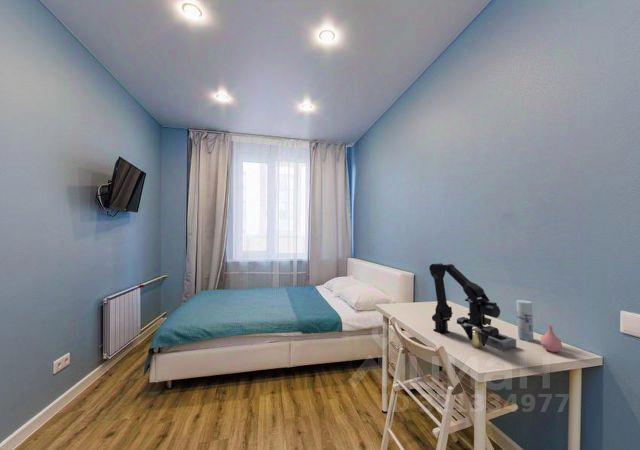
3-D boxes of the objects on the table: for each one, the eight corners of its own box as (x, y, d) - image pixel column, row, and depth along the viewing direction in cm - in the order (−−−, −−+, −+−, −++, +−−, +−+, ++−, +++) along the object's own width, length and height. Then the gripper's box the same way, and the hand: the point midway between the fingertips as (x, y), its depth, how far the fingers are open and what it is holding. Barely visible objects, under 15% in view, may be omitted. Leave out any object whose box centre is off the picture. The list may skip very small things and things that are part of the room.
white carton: (524, 335, 137) (522, 299, 137) (537, 340, 130) (535, 302, 131) (515, 337, 135) (513, 300, 136) (527, 342, 129) (525, 303, 129)
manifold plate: (503, 351, 120) (502, 342, 120) (468, 337, 136) (468, 329, 137) (516, 347, 123) (515, 339, 124) (481, 334, 140) (481, 326, 140)
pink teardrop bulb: (549, 346, 123) (548, 322, 124) (567, 354, 116) (565, 328, 116) (536, 348, 122) (535, 323, 123) (553, 355, 115) (551, 329, 115)
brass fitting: (478, 349, 122) (477, 333, 122) (470, 346, 126) (470, 330, 126) (484, 348, 123) (483, 331, 124) (476, 344, 127) (475, 329, 127)
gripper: (505, 315, 120) (507, 347, 119) (469, 305, 137) (471, 333, 136) (490, 318, 115) (491, 352, 115) (455, 307, 133) (456, 337, 132)
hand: (477, 343), depth 125 cm, fingers open, 6 cm apart
